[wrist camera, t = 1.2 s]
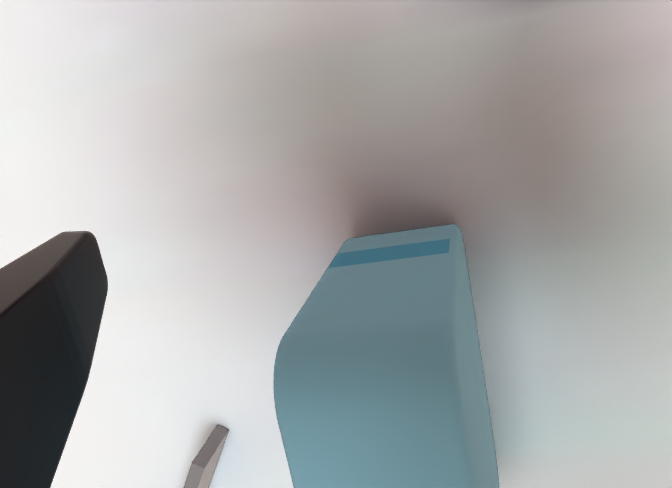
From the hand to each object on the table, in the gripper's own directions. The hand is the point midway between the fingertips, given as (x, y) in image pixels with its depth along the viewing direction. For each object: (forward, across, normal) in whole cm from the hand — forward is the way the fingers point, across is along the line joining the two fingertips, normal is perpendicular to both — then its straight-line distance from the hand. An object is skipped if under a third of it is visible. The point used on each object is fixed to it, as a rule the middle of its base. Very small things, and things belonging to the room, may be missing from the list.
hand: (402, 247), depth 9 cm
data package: (+12, -3, +14) cm, 19 cm away
